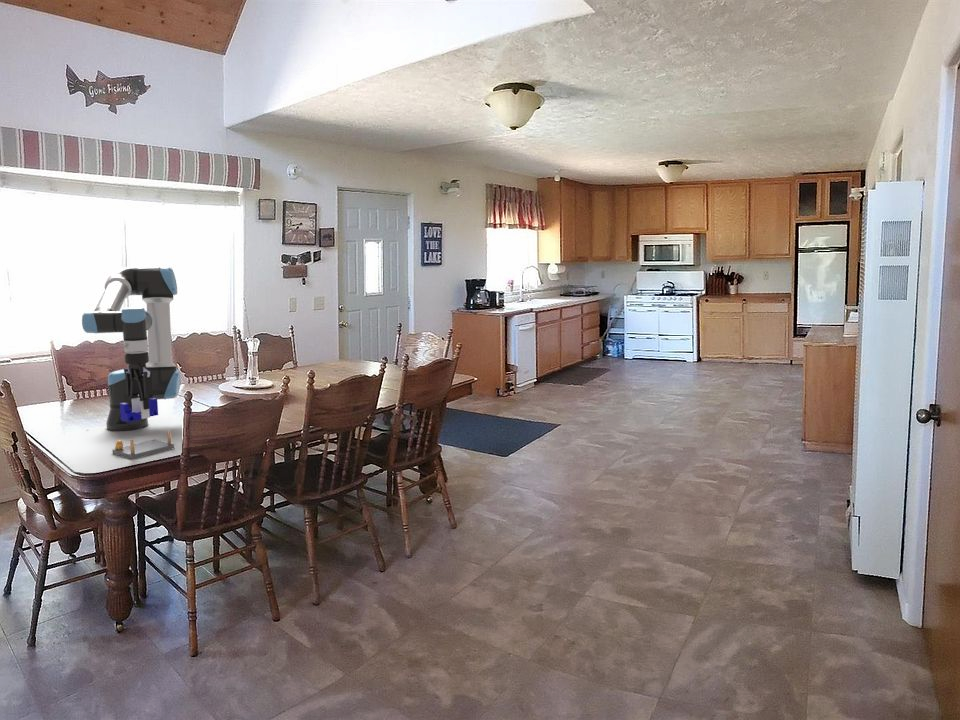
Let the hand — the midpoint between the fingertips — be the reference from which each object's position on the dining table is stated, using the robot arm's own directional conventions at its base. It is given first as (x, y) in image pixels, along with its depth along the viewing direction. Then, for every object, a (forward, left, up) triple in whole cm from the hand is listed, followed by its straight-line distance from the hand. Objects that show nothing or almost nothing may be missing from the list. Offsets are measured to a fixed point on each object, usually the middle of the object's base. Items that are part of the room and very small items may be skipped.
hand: (141, 417), depth 252 cm
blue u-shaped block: (0, 0, 0) cm, 1 cm away
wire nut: (-5, -6, -11) cm, 13 cm away
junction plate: (0, 0, -12) cm, 12 cm away
